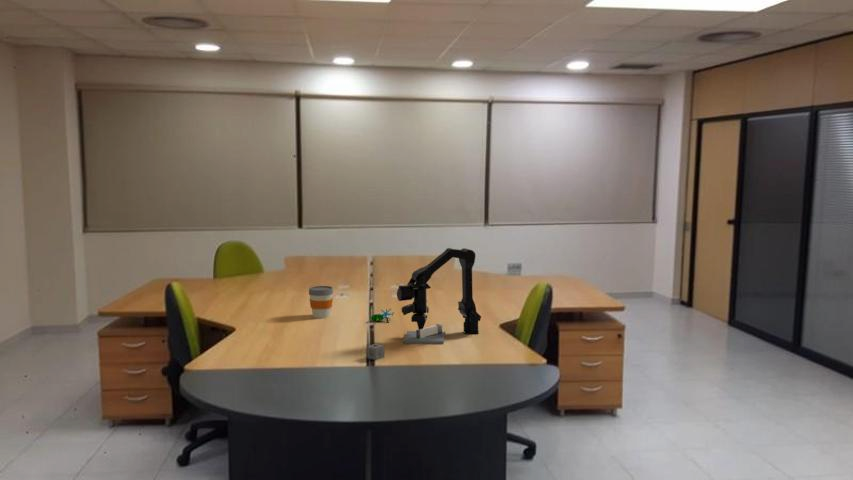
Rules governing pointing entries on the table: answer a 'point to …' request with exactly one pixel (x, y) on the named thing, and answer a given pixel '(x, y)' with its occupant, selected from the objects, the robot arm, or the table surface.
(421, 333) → the light grey rounded bar
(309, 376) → the table surface
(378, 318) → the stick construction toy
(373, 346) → the dice cube
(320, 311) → the reusable coffee cup
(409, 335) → the plate
